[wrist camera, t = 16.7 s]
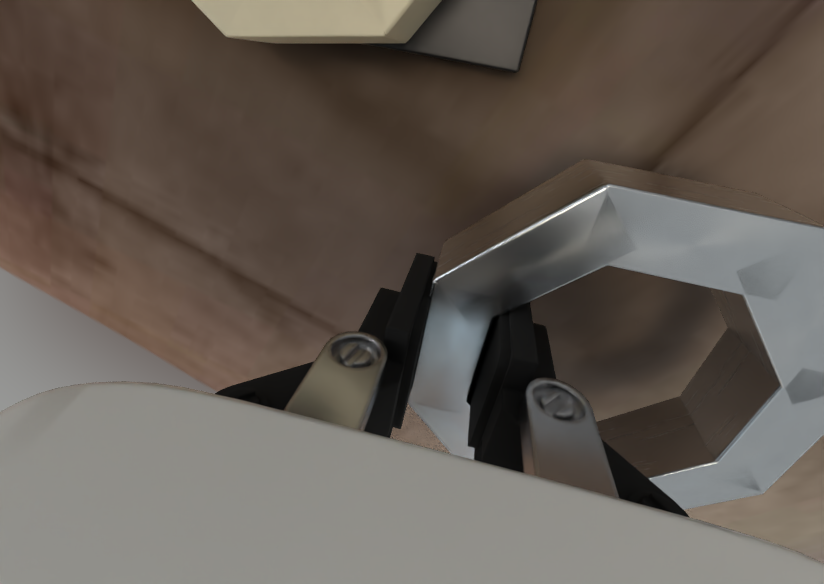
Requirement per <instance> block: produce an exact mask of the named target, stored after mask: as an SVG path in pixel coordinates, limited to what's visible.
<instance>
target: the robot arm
mask: <svg viewBox="0 0 824 584" xmlns="http://www.w3.org/2000/svg"><path fill="white" fill-rule="evenodd" d="M434 258H435V257H433V256H428V255H424V254H419V253H417V254H416V256H415V258H414V261H413V263H412V266H411V268H410V270H409V273H408V275H407V278H406V280H405V282H404V285H403V287H402V290H401V292H398V291H394V290H389V289H385V288H381V289H380V290H379V292H378V294H377V296H376V298H375V300H374V302H373V304H372V306H371V308H370V310H369V312H368V314H367V315H366V317H365V319H364V321H363V323H362V325H361V327H360V329H359V331H358V332H357V331H353V332H344V333H340V334H337V335H335V336H334V337H332V338H330V340H329V341H328V342H327V343H326V344H325V346H324V347H323V349H322V350H321V352H320V353H319V355H318V357H317V358H316V360H315V361H314V362H311V363H308V364H304V365H301V366H297V367H294V368H291V369H287V370H284V371H280V372H277V373H274V374H270V375H267V376H263V377H260V378H257V379H253V380H250V381H246V382H243V383H240V384H236V385H233V386H230V387H227V388H225V389H222V390H220V391H218V392H217V393H215V394H212V393H207V392H203V391H198V390H193V389H189V388H185V387H178V386H171V385H165V384H157V383H143V382H126V381H122V382H99V383H86V384H78V385H72V386H66V387H61V388H56V389H52V390H49V391H46V392H43V393H39V394H36V395H34V396H32V397H29V398H27V399H25V400H22V401H20V402H18V403H16V404H14V405H12V406H10V407H8V408H6V409H5V410H3V411H1V412H0V584H824V563H822V562H820V561H818V560H815V559H813V558H811V557H809V556H807V555H804V554H802V553H800V552H797V551H794V550H792V549H789V548H786V547H783V546H781V545H778V544H775V543H773V542H770V541H767V540H764V539H761V538H757V537H754V536H751V535H747V534H744V533H741V532H737V531H734V530H731V529H727V528H724V527H721V526H717V525H714V524H710V523H707V522H704V521H701V520H697V519H693V518H689V516H688V515H687V513H686V512H685V511H684V510H683V509H682V508H681V507H680V506H679V505H678V504H677V503H676V502H675V501H674V500H673V499H671V498H670V497H669V496H668V495H667V494H666V493H664V492H663V491H662V490H661V489H660V488H659V487H657V486H656V485H655V484H654V483H653V482H652V481H650V480H649V479H648V478H647V477H646V476H644V475H643V474H642V473H641V472H640V471H639V470H637V469H636V468H635V467H634V466H633V465H632V464H630V463H629V462H628V461H627V460H626V459H625V458H623V457H622V456H621V455H620V454H619V453H618V452H616V451H615V450H614V449H613V448H612V447H610V446H609V445H608V444H607V443H606V442H605V441H603V440H602V439H601V436H600V433H599V430H598V426H597V423H596V420H595V417H594V413H593V410H592V407H591V405H590V403H589V401H588V400H587V399H586V398H585V397H584V395H583V394H582V393H581V392H579V391H578V390H577V389H576V388H574V387H573V386H571V385H569V384H567V383H565V382H563V381H560V380H557V379H556V376H555V371H554V366H553V361H552V356H551V350H550V345H549V340H548V335H547V330H546V327H545V326H543V325H539V324H535V323H533V321H532V314H531V308H530V302H528V303H526V304H524V305H522V306H519V307H517V308H515V309H513V310H511V311H509V312H507V313H504V314H502V315H500V316H498V317H496V318H494V321H493V324H492V327H491V330H490V333H489V336H488V339H487V342H486V345H485V348H484V351H483V355H482V358H481V361H480V364H479V367H478V370H477V373H476V376H475V379H474V382H473V386H472V395H471V405H470V417H469V430H468V447H472V448H474V460H472V459H468V458H465V457H461V456H457V455H453V454H449V453H446V452H442V451H438V450H434V449H430V448H426V447H422V446H419V445H415V444H411V443H407V442H403V441H399V440H396V439H392V438H390V435H391V432H392V428H393V427H395V428H398V429H401V426H402V422H403V418H404V414H405V410H406V406H407V402H408V398H409V395H410V391H411V386H412V382H413V377H414V373H415V368H416V363H417V359H418V354H419V350H420V345H421V340H422V336H423V331H424V327H425V322H426V318H427V313H428V308H429V304H430V299H429V294H430V289H431V284H432V280H433V277H434V273H435V270H436V266H437V262H434Z"/></svg>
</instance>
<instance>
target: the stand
mask: <svg viewBox="0 0 824 584" xmlns="http://www.w3.org/2000/svg"><path fill="white" fill-rule="evenodd" d="M537 1H538V0H442V1H441V2H440V3H439V4H438V6H437V7H436V8H435V9H434V10H433V12H432V13H431V14H430V15H429V16H428V18H427V19H426V20H425V21H424V22H423V24H422V25H421V26H420V27H419V28H418V30H417V31H416V32H415V33H414V34H413V36H412V37H411V38H410V39H409V40H408V41H407V42H406V43H359V44H364V45H370V46H375V47H380V48H386V49H391V50H396V51H402V52H407V53H412V54H417V55H423V56H428V57H433V58H439V59H444V60H449V61H455V62H460V63H465V64H471V65H476V66H481V67H486V68H492V69H497V70H502V71H508V72H513V73H517V72H518V71H519V69H520V65H521V62H522V58H523V54H524V50H525V46H526V43H527V39H528V35H529V31H530V27H531V23H532V20H533V16H534V12H535V8H536V4H537Z"/></svg>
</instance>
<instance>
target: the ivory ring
mask: <svg viewBox="0 0 824 584" xmlns="http://www.w3.org/2000/svg"><path fill="white" fill-rule="evenodd" d="M192 1H193V2H194V4H195V5H196V6H197V7H198V8H199V9H200V10H201V11H202V12H203V13H204V14H205V15H206V16H207V17H208V18H209V19H210V20H211V21H212V23H213V24H214V25H215V26H216V27H217V28H218V29H219V30H220V31H221V32H222V33H223V34H224V35H225V36H226V37H228V38H236V39H244V40H252V41H259V42H267V43H406V42H407V41H408V40H409V39H410V38H411V37H412V36H413V34H414V33H415V32H416V31H417V30H418V28H419V27H420V26H421V25H422V24H423V22H424V21H425V20H426V19H427V18H428V16H429V15H430V14H431V13H432V12H433V10H434V9H435V8H436V7H437V6H438V4H439V3H440V2H441V1H442V0H192Z"/></svg>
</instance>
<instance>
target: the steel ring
mask: <svg viewBox="0 0 824 584" xmlns="http://www.w3.org/2000/svg"><path fill="white" fill-rule="evenodd" d="M605 266H612V267H617V268H621V269H626V270H630V271H635V272H639V273H644V274H648V275H653V276H658V277H662V278H667V279H671V280H676V281H680V282H685V283H690V284H694V285H699V286H703V287H708V288H710V289H711V291H712V294H713V296H714V298H715V300H716V302H717V305H718V307H719V309H720V311H721V313H722V316H723V318H724V320H725V322H726V324H727V327H728V328H727V330H726V331H725V332H724V334H723V335H722V337H721V338H720V340H719V341H718V342H717V344H716V345H715V347H714V348H713V350H712V351H711V352H710V354H709V355H708V357H707V358H706V360H705V361H704V362H703V364H702V365H701V367H700V368H699V370H698V371H697V372H696V374H695V375H694V377H693V378H692V380H691V381H690V382H689V384H688V385H687V387H686V388H685V390H684V391H683V392H682V394H681V395H680V396H679V397H676V398H673V399H669V400H666V401H663V402H660V403H656V404H653V405H650V406H647V407H643V408H640V409H637V410H634V411H630V412H627V413H624V414H621V415H617V416H614V417H611V418H608V419H604V420H601V421H598V422H596V423H597V426H598V430H599V433H600V436H601V439H602V440H603V441H605V442H606V443H607V444H608V445H609V446H610V447H612V448H613V449H614V450H615V451H616V452H618V453H619V454H620V455H621V456H622V457H623V458H625V459H626V460H627V461H628V462H629V463H630V464H632V465H633V466H634V467H635V468H636V469H637V470H639V471H640V472H641V473H642V474H643V475H644V476H646V477H647V478H648V479H649V480H650V481H652V482H653V483H654V484H655V485H656V486H657V487H659V488H660V489H661V490H662V491H663V492H664V493H666V494H667V495H668V496H669V497H670V498H671V499H673V500H674V501H675V502H676V503H677V504H678V505H679V506H680V507H681V508H682V509H683V510H684V509H689V508H694V507H699V506H704V505H710V504H715V503H720V502H725V501H730V500H735V499H740V498H745V497H750V496H755V495H760V494H763V493H764V492H765V491H766V490H767V489H768V488H770V487H771V486H772V485H773V484H774V483H775V482H776V481H777V480H778V479H779V478H780V477H781V476H782V475H783V474H784V473H785V472H786V471H787V470H788V469H789V468H790V467H791V466H792V465H793V464H794V463H795V462H796V461H797V460H798V459H799V458H800V457H801V456H802V455H803V454H804V453H806V452H807V451H808V450H809V449H810V448H811V447H812V446H813V445H814V444H815V443H816V442H817V441H818V440H819V439H820V438H821V437H822V436H823V435H824V225H822V224H819V223H817V222H815V221H813V220H811V219H809V218H807V217H805V216H803V215H801V214H799V213H797V212H795V211H793V210H791V209H788V208H786V207H784V206H782V205H780V204H778V203H776V202H774V201H772V200H770V199H768V198H766V197H764V196H762V195H760V194H757V193H754V192H749V191H744V190H739V189H734V188H729V187H724V186H719V185H714V184H709V183H704V182H699V181H694V180H689V179H684V178H679V177H674V176H669V175H664V174H659V173H654V172H649V171H644V170H639V169H634V168H629V167H624V166H619V165H614V164H609V163H604V162H599V161H594V160H589V159H584V160H582V161H579V162H578V163H576V164H574V165H573V166H571V167H569V168H568V169H566V170H564V171H562V172H561V173H559V174H557V175H556V176H554V177H552V178H551V179H549V180H547V181H546V182H544V183H542V184H540V185H539V186H537V187H535V188H534V189H532V190H530V191H529V192H527V193H525V194H524V195H522V196H520V197H518V198H517V199H515V200H513V201H512V202H510V203H508V204H507V205H505V206H503V207H501V208H500V209H498V210H496V211H495V212H493V213H491V214H490V215H488V216H486V217H485V218H483V219H481V220H479V221H478V222H476V223H474V224H473V225H471V226H469V227H468V228H466V229H464V230H463V231H461V232H459V233H457V234H456V235H454V236H452V237H451V238H449V239H447V240H446V241H445V242H444V243H443V246H442V249H441V253H440V256H439V260H438V263H437V266H436V270H435V273H434V277H433V280H432V284H431V289H430V294H429V299H430V304H429V308H428V313H427V318H426V322H425V327H424V331H423V336H422V340H421V345H420V350H419V354H418V359H417V363H416V368H415V373H414V377H413V382H412V386H411V391H410V395H409V398H408V403H409V405H410V406H411V407H412V409H413V410H414V411H415V412H416V413H417V414H418V416H419V417H420V418H421V419H422V420H423V421H424V423H425V424H426V425H427V426H428V427H429V428H430V429H431V431H432V432H433V433H434V434H435V435H436V436H437V438H438V439H439V440H440V441H441V442H442V443H443V445H444V446H445V447H446V448H447V449H448V450H449V452H450V453H451V454H453V455H457V456H461V457H465V458H468V459H472V460H474V448H472V447H468V430H469V417H470V405H471V395H472V386H473V382H474V379H475V376H476V373H477V370H478V367H479V364H480V361H481V358H482V355H483V351H484V348H485V345H486V342H487V339H488V336H489V333H490V330H491V327H492V324H493V321H494V318H496V317H498V316H500V315H502V314H504V313H507V312H509V311H511V310H513V309H515V308H517V307H519V306H522V305H524V304H526V303H528V302H530V301H532V300H534V299H537V298H539V297H541V296H543V295H545V294H547V293H550V292H552V291H554V290H556V289H558V288H560V287H562V286H565V285H567V284H569V283H571V282H573V281H575V280H577V279H580V278H582V277H584V276H586V275H588V274H590V273H592V272H595V271H597V270H599V269H601V268H603V267H605Z"/></svg>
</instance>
